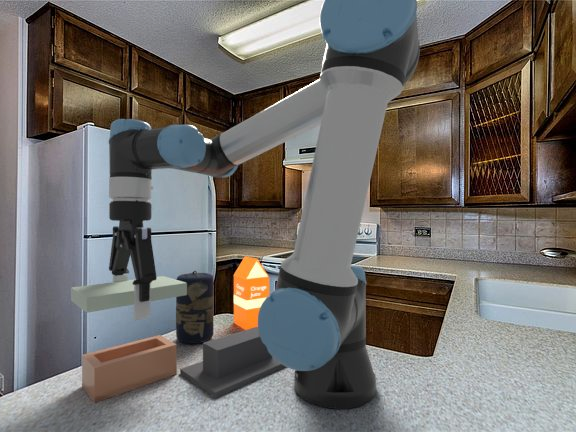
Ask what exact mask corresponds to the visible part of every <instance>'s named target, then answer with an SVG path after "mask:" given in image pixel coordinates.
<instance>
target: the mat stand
mask: <svg viewBox="0 0 576 432" xmlns="http://www.w3.org/2000/svg"><path fill="white" fill-rule="evenodd" d="M284 368H287V367H286V366H284V365H282V364H281V363H279V362H278V361H277V360H275V359H274V358H273V357H272V356H271V355H270V353H269V352H268V349H267V348H266V346H265V344H263V342H262V340H261V338H260V335H259V331H258V327H254V328H250V329H247V330H244V329H243V330H241V331H238V332H235V333H230V334H228V335H227V334H226V335H224V336H222V337H217V338H214V339H211V340H209V341H208V340H206V341H203V342H202V361H200V362H197V363H193V364H191V365H189V366H185V367H182V368H180V369H179V373H180V375H181V376H182V377H184V378H185V379H186V380H188V381H190V382H191V383H192V384H194V385H195V386H197V387H198V388H200V389H202V390H203V391H204V392H206V394H208V395H210V396H211V397H213V398H214V399H217V398H219V397H221V396H223V395H225V394H228V393H230V392H233V391H235V390H237V389H239V388H241V387H243V386H246V385H249V384H250V383H252V382H254V381H255V382H256V380H260V379H261V378H263V377H265V376H269V375H270V374H273V373H275V372H276V371H279V370H282V369H284Z"/></svg>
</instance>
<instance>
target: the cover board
mask: <svg viewBox="0 0 576 432" xmlns="http://www.w3.org/2000/svg"><path fill="white" fill-rule="evenodd" d="M134 280H136V278H135V279H128V281H120V282H113V281H112V282H106V283H96V284H89V285H82V286H73V287H70V301H71V302H72V303H74V304H75V306H77V307H79V309H81V310H82V311H83V312H85V313H93V312H99V311H104V310H111V309H116V308H122V307H128V306H132V305H133V306H134V285H133V284H132V283H133V281H134ZM184 295H187V283H186V282H182V281H179V280H176V279H174V278H172V277H168V276H165V275H160V276H156V280H154V281H152V282H151V283H150V302H156V301H162V300H166V299H167V300H168V299H171V298H176V297H179V296H184Z"/></svg>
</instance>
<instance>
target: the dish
mask: <svg viewBox="0 0 576 432" xmlns="http://www.w3.org/2000/svg"><path fill="white" fill-rule="evenodd" d="M177 350H178V345H177V344H176V343H175V342H173V341H171V340H170V339H168V338H166V337H164V336H163V335H161V334H158V335H154V336H150V337H145V338H142V339H138V340H133V341H130V342H127V343H123V344H120V345H115V346H110V347H107V348H104V349H100V350H95V351H91V352H88V353H84V354H82V355H81V361H82V362H81V388H83V390H84V391H85V392H86V394H87V395H88V397H89V399H91V401H92V402H93V404H96V403H98V402H102V401H104V400H107V399H109V398H112V397H116V396H118V395H121V394H124V393H127V392H129V391H130V392H131V391H133V390H136V389H138V388H142V387H143V386H147V385H149V384H152V383H155V382H157V381H161V380H164V379H166V378H169V377H172V376H176V375H177V374H178V368H177V367H178V363H177V360H178V359H177V357H178V355H177V354H178V352H177Z"/></svg>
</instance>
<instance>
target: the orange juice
mask: <svg viewBox="0 0 576 432" xmlns="http://www.w3.org/2000/svg"><path fill="white" fill-rule="evenodd" d="M269 294H270V276H269V275H268V273H267V272H266V270H265V269H264V267H263V265H262V264H261V263H260V261H259V258H254V257H251V256H244V257H243V259H242V261H241V262H240V264H239V266H238V267H237V269H236V270H235V272H234V274H233V323H234V324H235V325H237V326H238V327H240V328H241V329H242V330H243V331H244V330H247V329H250V328H254V327H258V313H259V310H260V307H261V305H262V303H263V302H264V300H265V299H266V298H267V296H268V295H269Z"/></svg>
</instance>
